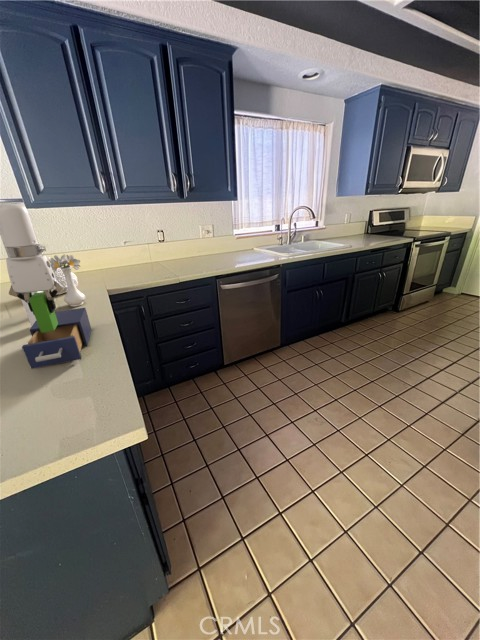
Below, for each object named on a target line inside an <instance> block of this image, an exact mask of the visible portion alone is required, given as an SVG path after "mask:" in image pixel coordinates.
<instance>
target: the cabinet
mask: <svg viewBox="0 0 480 640" xmlns="http://www.w3.org/2000/svg"><path fill="white" fill-rule="evenodd" d="M54 312H55V315H56V318H57V321H58V325H57V327H63V326H69V325H75V324H78V325H79V328H80V332H81V335H82V338H83V344H82V347H81V348H84V347H88V345H89V341H90V337H91V333H92V330H93V329H92V326H91V322H90V318H89V316H88V312H87V309H86V307H79V308H73V309H71V308H70V309H65V310H57V311H54ZM57 327H56V328H57ZM38 330H40V328H39V326H38V323H37V320H36V321H35V323H34V324H33V326H31V327H30V328H29V333H30V335H31V337H32V336H33V335H34V333H35V332H36V331H38Z"/></svg>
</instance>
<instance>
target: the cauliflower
mask: <svg viewBox="0 0 480 640" xmlns="http://www.w3.org/2000/svg"><path fill="white" fill-rule="evenodd" d="M71 274H72V278H73V281H74V284H75V286H76V288H77V287H78V285H79V281H78V277H77V276H76V274H75V273H73V272H72V271H71ZM54 275H55V278H56V280H57V281H58V282H59V283H60V284H61V285H62V286H63V287H64V288H63V289H62V290H61V291H60V292H58V293H57V294H56V295H55V296H57V295H58V296H59V295H63V294H66V293H67V291H68V287H67V282H66V279H65V276H64V273H63V272H62V270H61V269H60V268H57V270H56V271H55V272H54ZM54 289H56V286H54V288H53V289H51V290H52V291H53V290H54Z"/></svg>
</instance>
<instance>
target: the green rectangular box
mask: <svg viewBox="0 0 480 640" xmlns="http://www.w3.org/2000/svg"><path fill="white" fill-rule="evenodd" d="M29 301H30V304H31V306H32V309H33V312H34V315H35V317H36V320H37V323H38V326H39V328H40V331H41V333H44V332H50V331H55V329H56V327H57V325H58V321H57V318H56V315H55V312H56V311H54V312H53V313H50V311H49V308H48V305H47V302H46V301H47V297H46V295H45V293H44V291H42V292H40V293H34V294H33V295H32V296H31V297H30V298H29Z"/></svg>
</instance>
